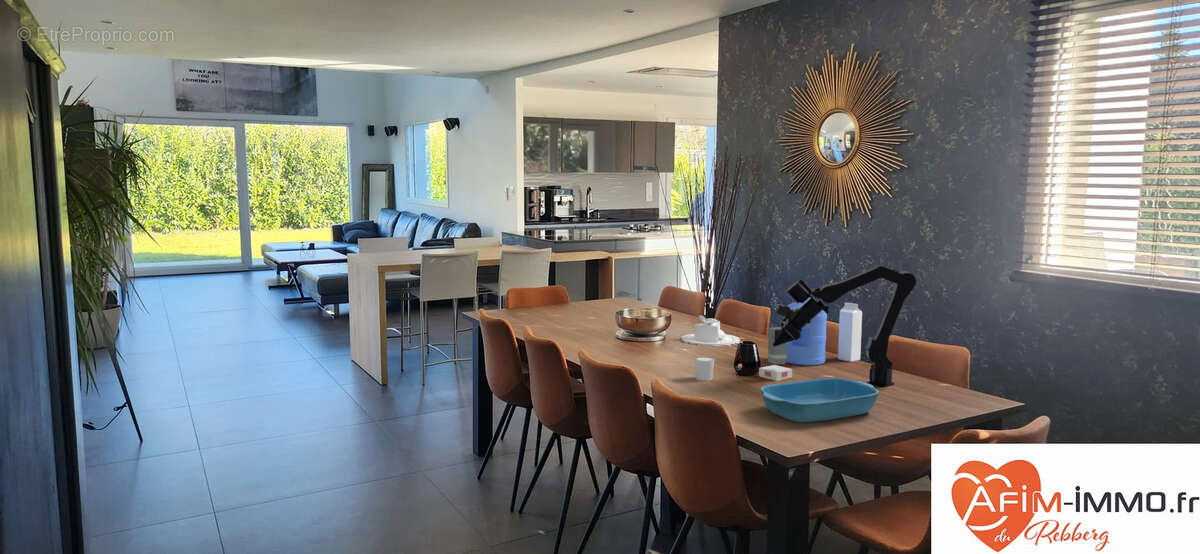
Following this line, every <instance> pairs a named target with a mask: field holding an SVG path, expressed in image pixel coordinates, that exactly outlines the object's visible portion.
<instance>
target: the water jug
mask: <svg viewBox="0 0 1200 554" xmlns="http://www.w3.org/2000/svg"><path fill="white" fill-rule="evenodd" d="M810 295H811V296H812V294H810ZM809 299H810V297H809V298H808V299H807V300H806V301H805V302H804V303H800V302H799V303H797V302H796V301H794V302H792V303H790V304H788V305H787V304H786V306H788V307H790V308H791V309H793V310H796V309H797V308H800V307H801V306H803V305H804V304H805V303H806V302H807V301H808V300H809ZM827 319H828V314H826V313H825V312H824V311H823V310H822V311H821V312H820V313H819V314H818V315H817V316H816V317H815V318H814V319H812V320H811V323H810V324H807V325H806V326H805V327H804V328H803V329H802V331H801V337H800V338H799V339H798V340H797V341H796V340H793V341H790V342H787V343H786V354H787V358H786V364H787V363H788V364H790V363H791V365H795V366H796V365H797V366H808V367H810V366H812V367H813V366H820V365H823V364H824V363H825V362H826V341H827Z"/></svg>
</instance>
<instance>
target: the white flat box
mask: <svg viewBox="0 0 1200 554" xmlns="http://www.w3.org/2000/svg"><path fill="white" fill-rule="evenodd" d="M758 377H761V378H764V379H767V380H768V379H769V380H772V381H775V382H776V381H782V380H786V379H790V378H791V379H792V378H793V368H789V367H785V366H779V365H778V364H772V365H768V366H767V365H766V366H763V367H759V369H758Z"/></svg>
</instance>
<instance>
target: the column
mask: <svg viewBox="0 0 1200 554" xmlns="http://www.w3.org/2000/svg"><path fill="white" fill-rule="evenodd" d="M781 332H782V327H781V326H777V327H776V326H775V327H768V337H767V338H768V340H767V342H768V344H767V345H768V346H767V362H768V363H770V364H772V365H785V364H787V362H786V358H787V354H786V343H784V344H781V345H778V346H773V343H774V341H775V340H776V339H777V338H778V336H779V335H780V334H781Z"/></svg>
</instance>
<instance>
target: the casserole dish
mask: <svg viewBox="0 0 1200 554" xmlns="http://www.w3.org/2000/svg"><path fill="white" fill-rule="evenodd" d="M760 392H761V396H762V399H763V402H764V405H765V407H766V409H767V410H768V411H769V412H771V413H772V414H775V415H777V416H779V417H782V418H783V419H786V420H789V421H792V422H796V423H816V422H822V421H823V422H824V421H831V420H837V419H842V418H843V419H844V418H849V417H856V416H860V415H865V414H866V413H868V412H870V411H871V410H872V409H873V407H874V406H875V404H876V402H877V401H876V400H877V399H878V395H879V393H880V391H879V390H878V389H877V388H875V387H874V385H873V384H869V383H867V382H865V381H860V380H854V379H847V378H842V377H841V378H840V377H824V378H815V379H814V378H813V379H807V380H798V381H791V382H790V381H789V382H781V383H776V384H775V383H774V384H773V383H772V384H769V385H765V386H761V388H760Z"/></svg>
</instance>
